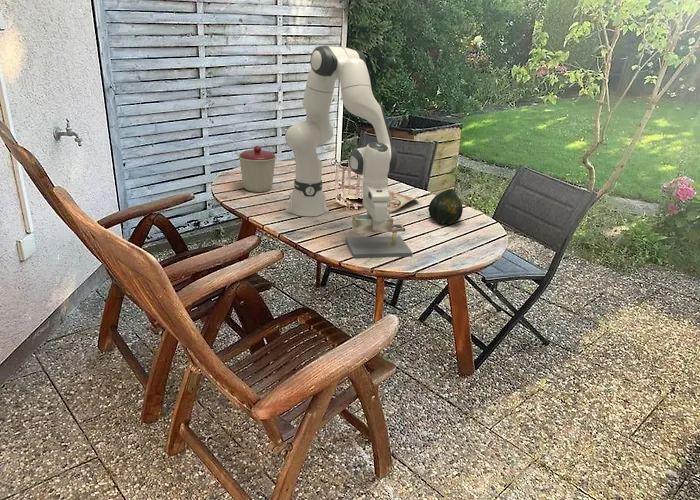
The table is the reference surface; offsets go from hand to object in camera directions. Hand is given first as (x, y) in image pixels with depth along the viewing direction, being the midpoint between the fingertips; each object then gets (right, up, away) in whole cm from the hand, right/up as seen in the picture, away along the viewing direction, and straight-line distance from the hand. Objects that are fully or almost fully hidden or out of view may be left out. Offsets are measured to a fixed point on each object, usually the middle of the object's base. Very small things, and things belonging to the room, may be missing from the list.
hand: (372, 225), depth 194 cm
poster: (+7, +14, +59) cm, 61 cm away
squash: (+33, +4, +37) cm, 50 cm away
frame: (+2, -1, +1) cm, 3 cm away
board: (+2, -8, +4) cm, 10 cm away
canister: (-53, +20, +63) cm, 85 cm away
